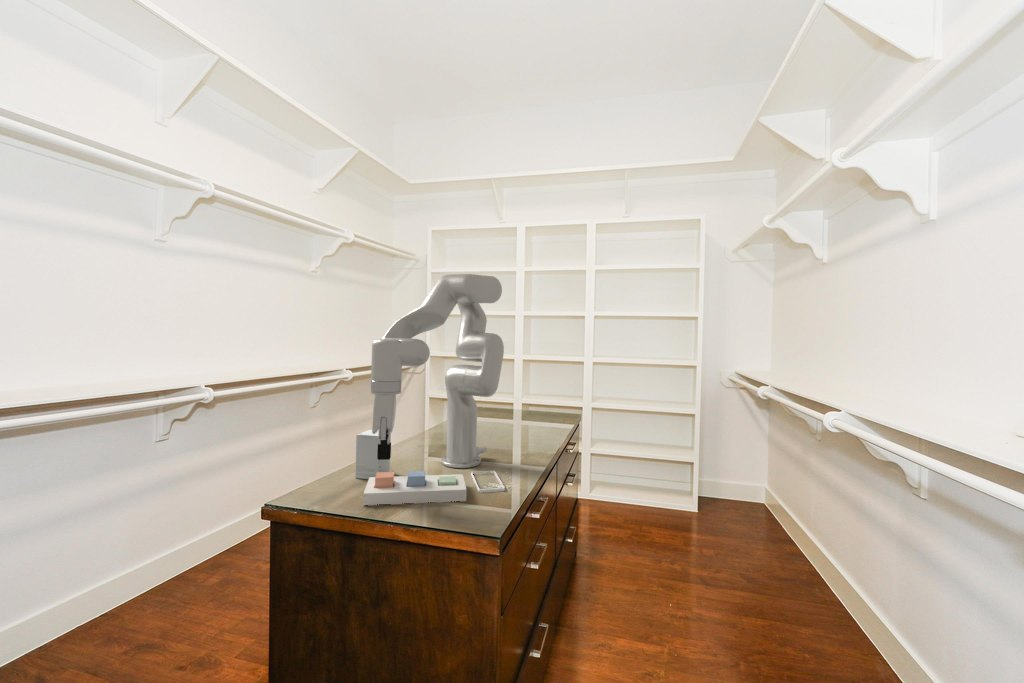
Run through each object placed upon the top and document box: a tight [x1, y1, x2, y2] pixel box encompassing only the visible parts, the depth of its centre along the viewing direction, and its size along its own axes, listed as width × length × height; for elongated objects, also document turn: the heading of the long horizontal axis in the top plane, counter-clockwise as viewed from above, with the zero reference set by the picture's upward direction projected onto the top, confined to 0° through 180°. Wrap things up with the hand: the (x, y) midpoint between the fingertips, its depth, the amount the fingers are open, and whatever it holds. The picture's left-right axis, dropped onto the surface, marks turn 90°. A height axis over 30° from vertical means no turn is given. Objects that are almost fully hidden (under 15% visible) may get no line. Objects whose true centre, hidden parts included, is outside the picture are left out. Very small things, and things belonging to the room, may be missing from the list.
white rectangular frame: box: [470, 470, 506, 494], centre depth 132 cm, size 7×1×15 cm
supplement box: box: [355, 429, 391, 480], centre depth 135 cm, size 7×7×13 cm
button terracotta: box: [375, 471, 395, 488], centre depth 120 cm, size 4×4×3 cm
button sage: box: [439, 476, 456, 486], centre depth 123 cm, size 4×4×3 cm
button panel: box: [362, 473, 467, 506], centre depth 121 cm, size 25×12×3 cm, turn 101°
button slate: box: [407, 470, 426, 487], centre depth 121 cm, size 4×4×3 cm
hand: (384, 458), depth 119 cm, fingers closed
